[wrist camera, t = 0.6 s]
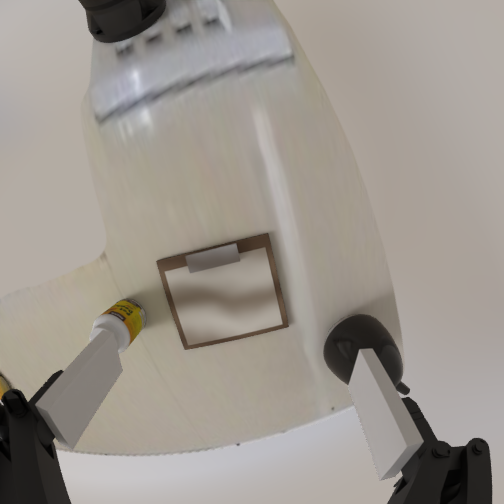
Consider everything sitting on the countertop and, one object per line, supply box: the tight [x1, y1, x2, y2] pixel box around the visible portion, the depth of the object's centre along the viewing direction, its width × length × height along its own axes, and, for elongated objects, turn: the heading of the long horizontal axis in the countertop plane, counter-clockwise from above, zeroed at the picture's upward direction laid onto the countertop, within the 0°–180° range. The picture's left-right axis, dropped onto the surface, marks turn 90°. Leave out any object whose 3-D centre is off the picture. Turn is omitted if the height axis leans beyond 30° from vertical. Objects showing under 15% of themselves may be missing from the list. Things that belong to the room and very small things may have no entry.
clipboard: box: [156, 233, 289, 350], centre depth 37 cm, size 14×16×2 cm
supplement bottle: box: [90, 299, 146, 353], centre depth 33 cm, size 6×6×10 cm
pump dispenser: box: [323, 314, 410, 395], centre depth 33 cm, size 10×10×15 cm
